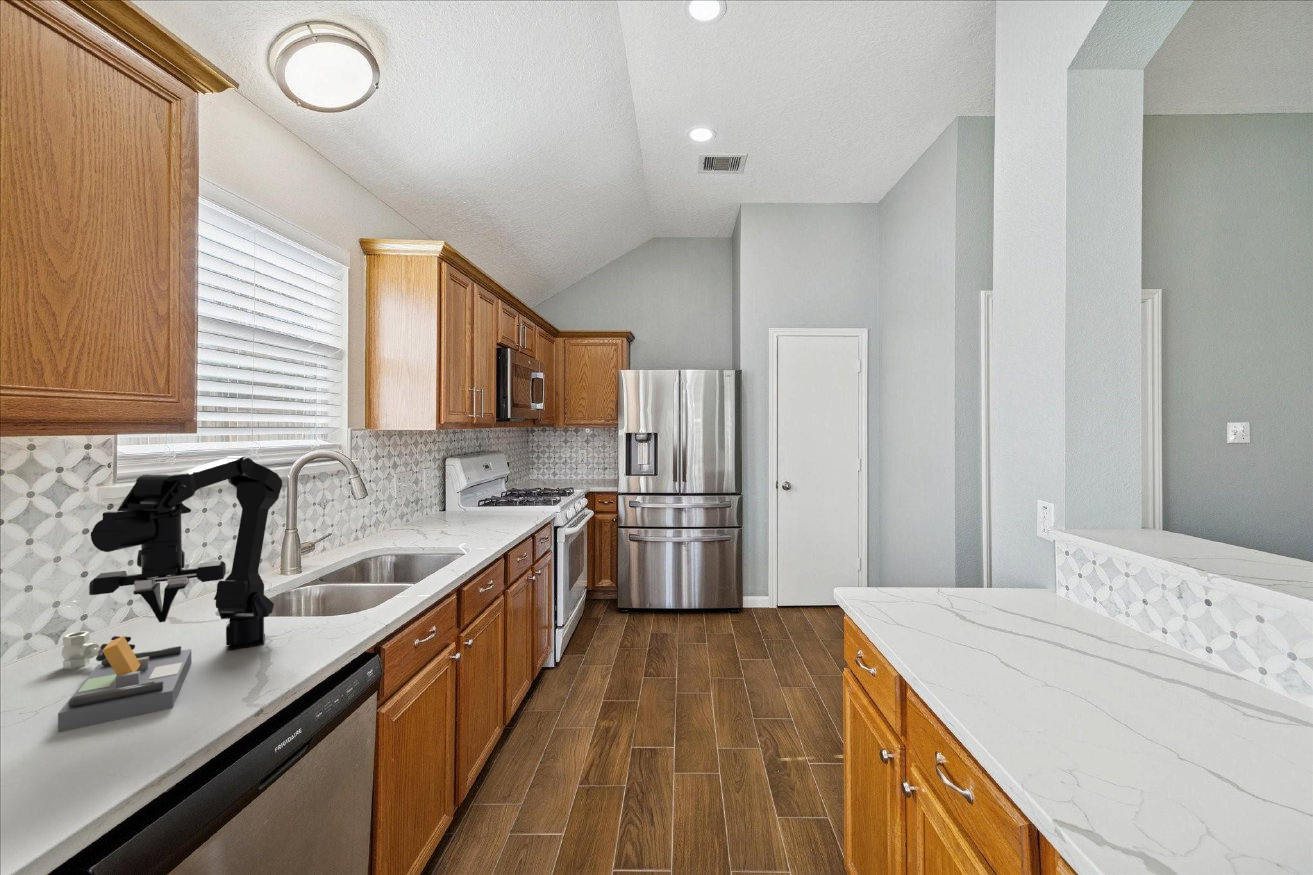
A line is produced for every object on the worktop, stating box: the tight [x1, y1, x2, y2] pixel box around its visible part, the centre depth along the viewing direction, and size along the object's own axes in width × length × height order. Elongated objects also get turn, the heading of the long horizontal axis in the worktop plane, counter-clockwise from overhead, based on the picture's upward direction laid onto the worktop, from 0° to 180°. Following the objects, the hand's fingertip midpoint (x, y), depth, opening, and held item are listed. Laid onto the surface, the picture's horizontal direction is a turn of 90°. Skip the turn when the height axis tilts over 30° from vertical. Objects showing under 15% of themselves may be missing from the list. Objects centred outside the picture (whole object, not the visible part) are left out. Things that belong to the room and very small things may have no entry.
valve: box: [61, 630, 136, 670], centre depth 113 cm, size 7×7×12 cm
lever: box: [102, 635, 140, 675], centre depth 100 cm, size 2×5×6 cm, turn 33°
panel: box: [57, 645, 192, 733], centre depth 101 cm, size 14×22×5 cm, turn 34°
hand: (162, 621), depth 104 cm, fingers closed
